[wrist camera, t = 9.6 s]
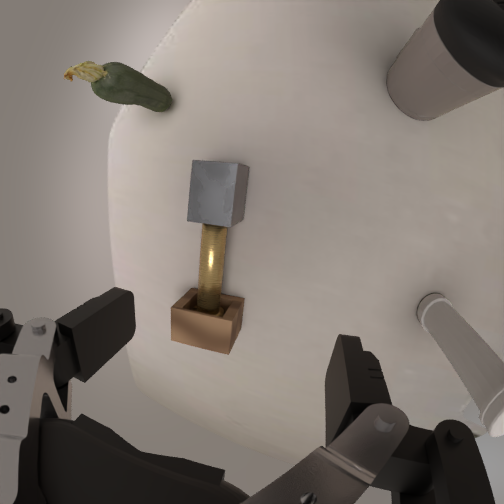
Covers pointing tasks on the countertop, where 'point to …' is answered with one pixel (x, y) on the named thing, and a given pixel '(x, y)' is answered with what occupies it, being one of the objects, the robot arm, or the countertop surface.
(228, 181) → the sleeve
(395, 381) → the countertop surface
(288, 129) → the countertop surface
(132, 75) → the vegetable
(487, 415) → the pipe
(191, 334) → the socket
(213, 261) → the tube
